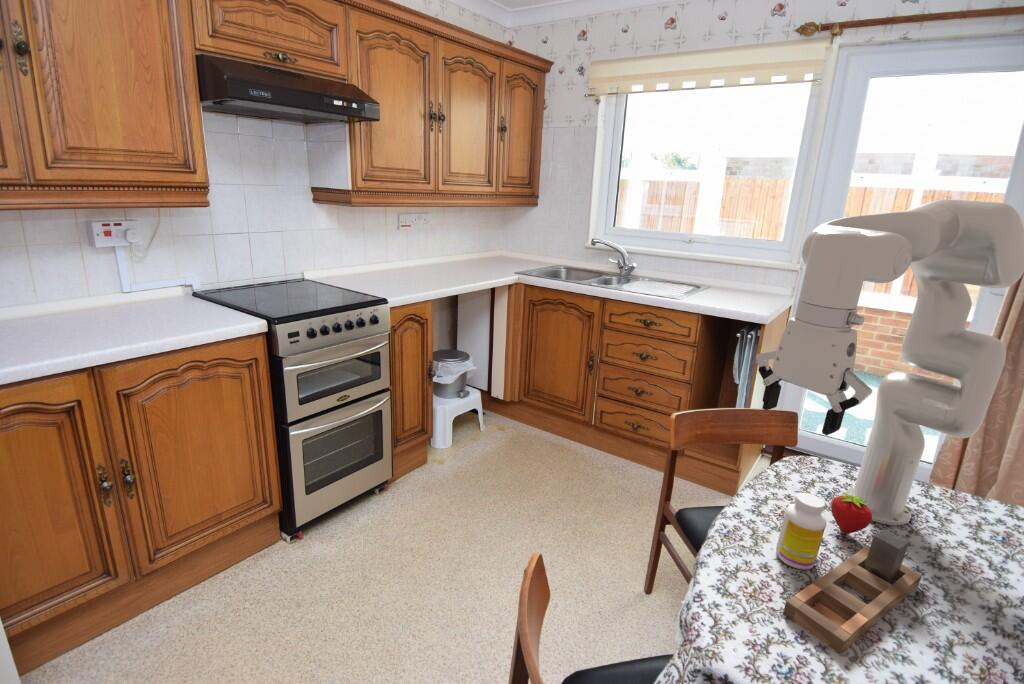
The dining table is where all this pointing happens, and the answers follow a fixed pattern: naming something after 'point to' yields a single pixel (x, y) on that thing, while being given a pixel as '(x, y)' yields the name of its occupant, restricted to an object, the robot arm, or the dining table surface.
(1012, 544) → the dining table surface
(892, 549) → the peg
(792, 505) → the supplement bottle
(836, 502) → the strawberry
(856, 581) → the rack
